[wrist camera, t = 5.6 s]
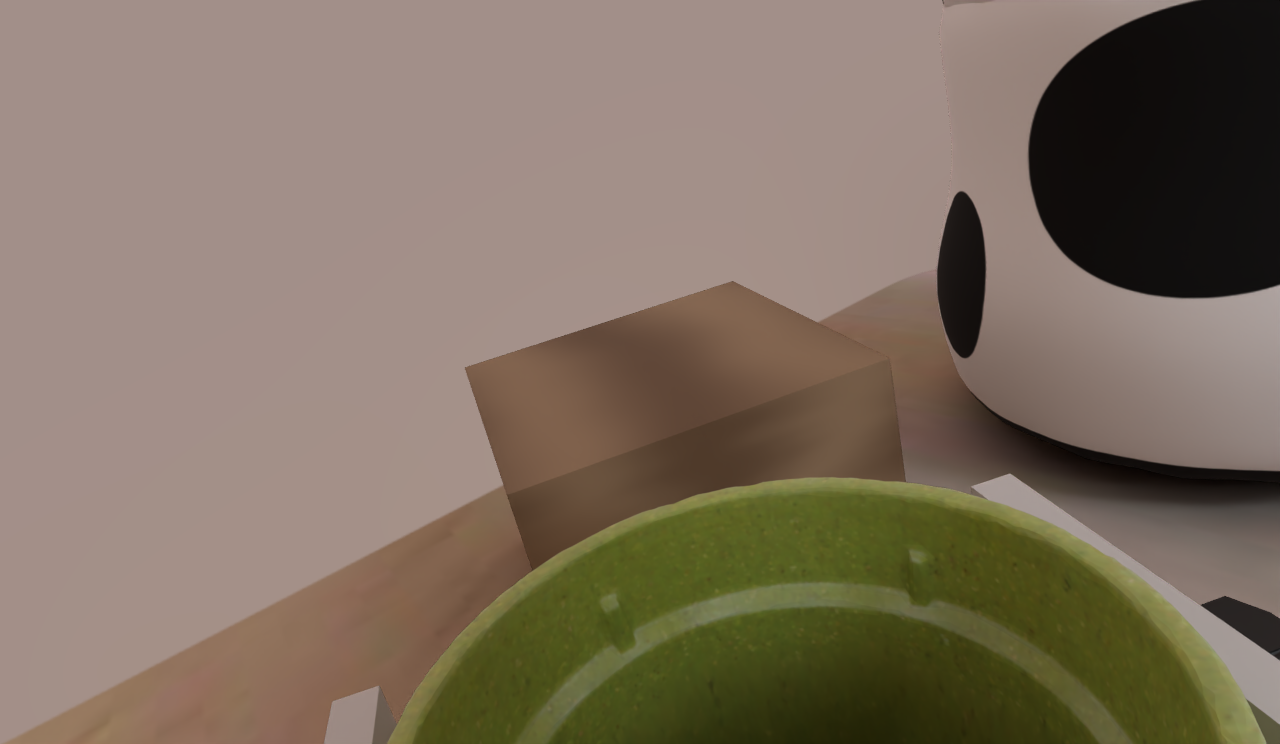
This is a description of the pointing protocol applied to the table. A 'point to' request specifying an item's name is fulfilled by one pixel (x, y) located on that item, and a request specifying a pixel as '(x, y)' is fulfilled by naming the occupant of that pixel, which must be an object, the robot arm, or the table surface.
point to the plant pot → (830, 633)
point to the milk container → (1118, 227)
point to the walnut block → (680, 412)
